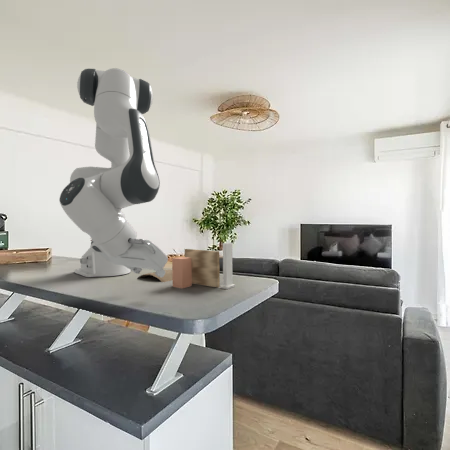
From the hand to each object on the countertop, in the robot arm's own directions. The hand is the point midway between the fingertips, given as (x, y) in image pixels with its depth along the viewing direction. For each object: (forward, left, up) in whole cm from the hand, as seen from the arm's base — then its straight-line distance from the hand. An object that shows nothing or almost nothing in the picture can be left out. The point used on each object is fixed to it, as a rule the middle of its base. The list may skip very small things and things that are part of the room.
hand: (150, 273), depth 83 cm
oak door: (+4, +16, -5) cm, 17 cm away
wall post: (+12, +19, -6) cm, 23 cm away
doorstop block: (0, +12, -6) cm, 13 cm away
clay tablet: (-16, +18, -7) cm, 24 cm away
